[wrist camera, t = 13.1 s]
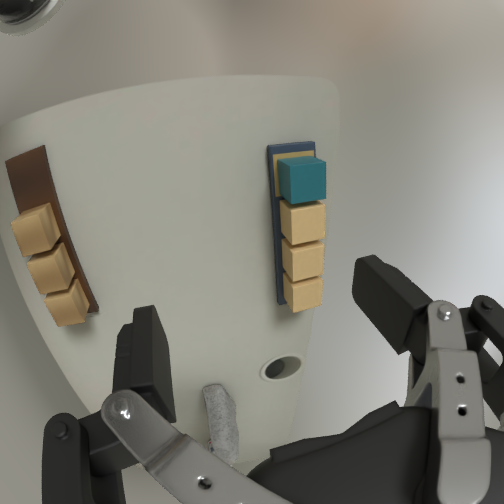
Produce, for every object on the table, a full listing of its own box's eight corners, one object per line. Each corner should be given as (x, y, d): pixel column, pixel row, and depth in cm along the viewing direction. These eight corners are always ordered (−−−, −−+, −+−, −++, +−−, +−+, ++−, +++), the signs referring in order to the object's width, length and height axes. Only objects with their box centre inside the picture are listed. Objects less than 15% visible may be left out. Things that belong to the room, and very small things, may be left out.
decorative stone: (195, 386, 52) (208, 454, 39) (225, 379, 52) (244, 446, 40) (210, 412, 57) (224, 471, 44) (236, 405, 58) (254, 464, 45)
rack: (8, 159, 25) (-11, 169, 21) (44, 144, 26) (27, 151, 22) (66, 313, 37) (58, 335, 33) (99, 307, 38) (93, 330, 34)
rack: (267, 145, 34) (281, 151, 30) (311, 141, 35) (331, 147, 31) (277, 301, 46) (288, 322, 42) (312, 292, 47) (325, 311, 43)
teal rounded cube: (277, 159, 34) (289, 166, 31) (310, 155, 35) (326, 161, 32) (279, 194, 36) (291, 204, 33) (311, 189, 37) (326, 198, 34)
